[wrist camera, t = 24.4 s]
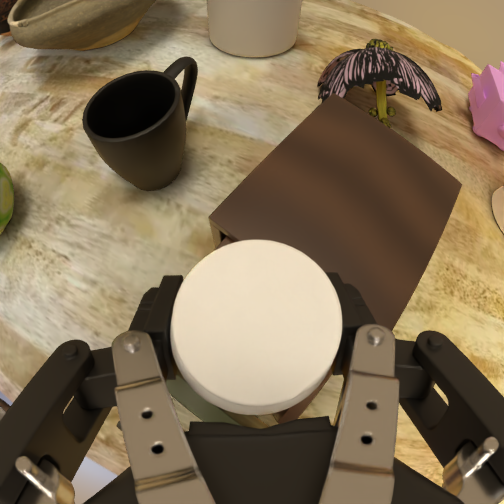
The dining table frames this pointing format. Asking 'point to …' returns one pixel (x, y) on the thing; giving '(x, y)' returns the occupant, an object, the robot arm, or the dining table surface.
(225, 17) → the cylinder vase
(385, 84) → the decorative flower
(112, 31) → the bowl
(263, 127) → the dining table surface
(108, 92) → the mug
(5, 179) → the decorative ball
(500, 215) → the cup
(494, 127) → the teapot
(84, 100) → the dining table surface
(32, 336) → the dining table surface
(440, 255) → the dining table surface
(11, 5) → the ceramic vessel
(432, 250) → the cabinet
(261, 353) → the supplement bottle
